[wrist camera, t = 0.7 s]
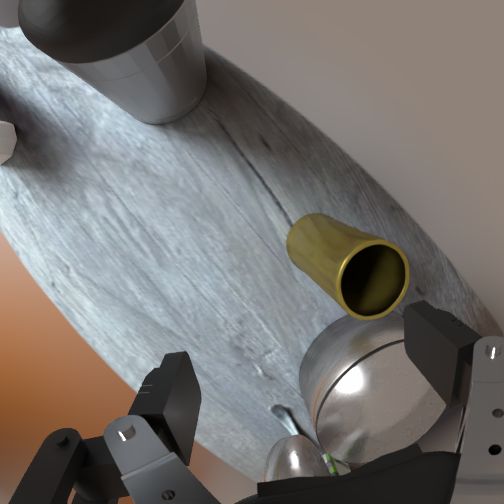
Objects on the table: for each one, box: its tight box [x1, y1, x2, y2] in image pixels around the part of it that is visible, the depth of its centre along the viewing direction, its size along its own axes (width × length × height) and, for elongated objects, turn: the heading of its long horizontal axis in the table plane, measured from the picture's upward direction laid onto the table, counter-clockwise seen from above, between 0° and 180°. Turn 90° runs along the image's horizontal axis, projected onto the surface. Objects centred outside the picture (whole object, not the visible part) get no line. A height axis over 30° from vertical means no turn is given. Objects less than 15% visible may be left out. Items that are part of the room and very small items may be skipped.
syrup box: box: [322, 453, 351, 476], centre depth 32 cm, size 6×6×14 cm
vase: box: [286, 213, 410, 320], centre depth 26 cm, size 6×6×14 cm
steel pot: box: [299, 311, 446, 463], centre depth 32 cm, size 16×16×9 cm
